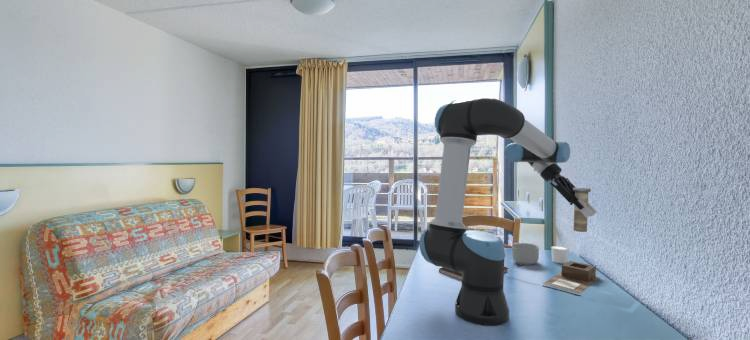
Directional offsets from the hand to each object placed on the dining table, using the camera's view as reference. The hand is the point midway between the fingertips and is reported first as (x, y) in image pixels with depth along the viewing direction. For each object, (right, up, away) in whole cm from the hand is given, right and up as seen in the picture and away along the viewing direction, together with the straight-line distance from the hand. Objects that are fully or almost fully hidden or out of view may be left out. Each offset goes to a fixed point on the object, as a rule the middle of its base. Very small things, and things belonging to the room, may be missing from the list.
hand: (591, 214), depth 131 cm
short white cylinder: (0, -24, +23) cm, 33 cm away
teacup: (-16, -24, +23) cm, 37 cm away
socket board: (-8, -25, -1) cm, 26 cm away
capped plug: (-3, -6, +3) cm, 8 cm away
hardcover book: (-41, -25, +10) cm, 49 cm away
